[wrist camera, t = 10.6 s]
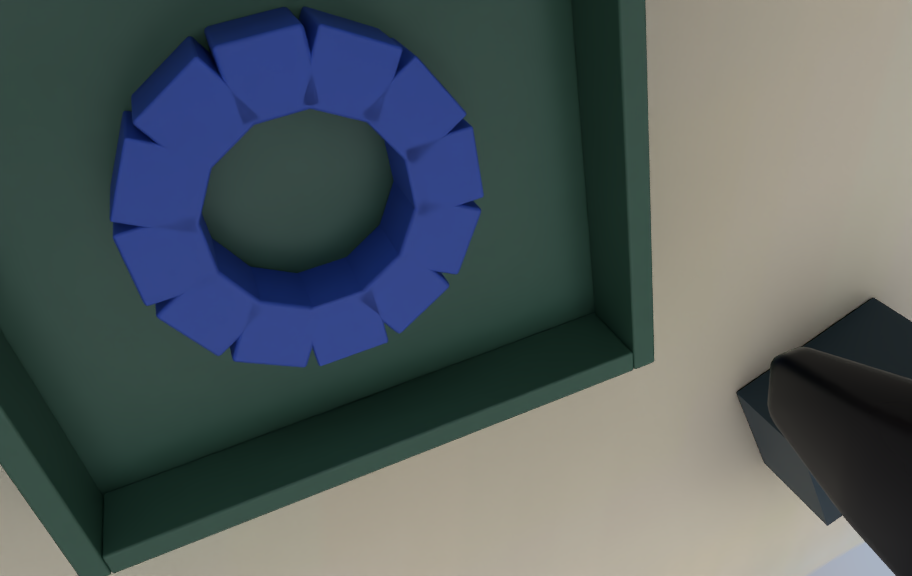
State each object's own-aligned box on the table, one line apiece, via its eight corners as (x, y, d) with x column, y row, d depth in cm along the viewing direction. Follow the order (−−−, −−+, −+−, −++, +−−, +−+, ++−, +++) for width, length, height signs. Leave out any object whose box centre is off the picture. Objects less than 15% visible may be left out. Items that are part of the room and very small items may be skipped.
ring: (189, 369, 18) (194, 412, 16) (48, 65, 14) (41, 91, 12) (475, 269, 19) (501, 302, 18) (422, -31, 15) (450, -17, 14)
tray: (87, 504, 19) (84, 586, 17) (-288, -82, 12) (-370, -60, 10) (606, 312, 22) (655, 362, 20) (567, -254, 15) (640, -266, 13)
